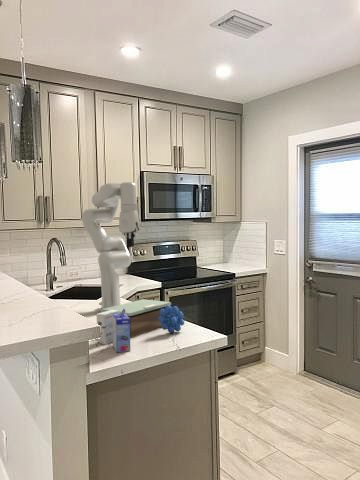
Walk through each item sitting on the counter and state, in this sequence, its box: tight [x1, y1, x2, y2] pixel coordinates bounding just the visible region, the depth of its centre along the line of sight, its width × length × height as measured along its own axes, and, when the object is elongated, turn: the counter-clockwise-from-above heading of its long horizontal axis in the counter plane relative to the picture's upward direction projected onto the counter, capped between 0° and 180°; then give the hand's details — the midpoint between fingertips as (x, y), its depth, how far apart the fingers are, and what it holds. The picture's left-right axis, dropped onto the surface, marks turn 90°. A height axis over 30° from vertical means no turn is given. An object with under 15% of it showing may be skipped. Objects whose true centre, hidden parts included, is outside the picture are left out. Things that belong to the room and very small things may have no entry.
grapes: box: [158, 305, 185, 334], centre depth 164 cm, size 12×7×12 cm, turn 113°
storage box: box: [128, 307, 165, 339], centre depth 175 cm, size 18×24×8 cm
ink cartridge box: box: [112, 309, 131, 353], centre depth 147 cm, size 10×6×14 cm, turn 17°
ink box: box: [95, 310, 120, 345], centre depth 156 cm, size 9×5×12 cm, turn 141°
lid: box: [101, 298, 172, 316], centre depth 174 cm, size 19×25×2 cm
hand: (130, 246), depth 189 cm, fingers closed
